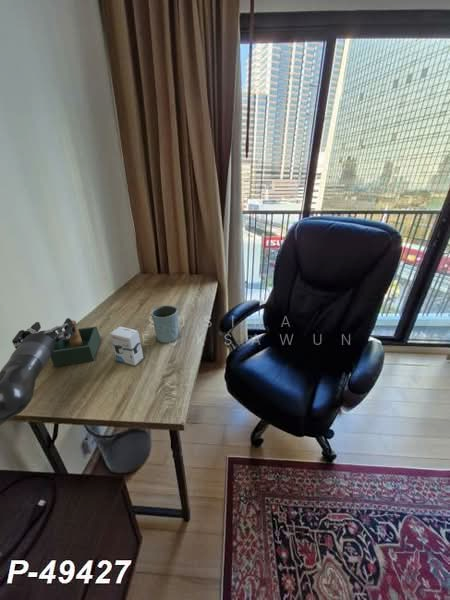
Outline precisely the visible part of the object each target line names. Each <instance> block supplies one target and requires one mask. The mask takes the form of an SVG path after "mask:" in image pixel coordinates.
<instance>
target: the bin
mask: <svg viewBox="0 0 450 600" xmlns="http://www.w3.org/2000/svg"><path fill="white" fill-rule="evenodd" d="M78 330H79V333H80V336H81V339H82V342H83V345H84V346H81V347H74V348H71V346H70V344H69V341H68V342H66V340H65V339H63V340H60V341H59V342H57V343H56V346H55V349H54V351H53V353H52V355H51V356H50V359H51V362H52V364H53V367H54V368H56V367H63V366H69V365H75V364H82V363H87V362H88V363H89V362H94V360H95V357H96V355H97V352H98V348H99V345H100V342H101V337H100V333H99V330H98V326H89V327H82V328H81V327H80V328H78Z"/></svg>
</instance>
